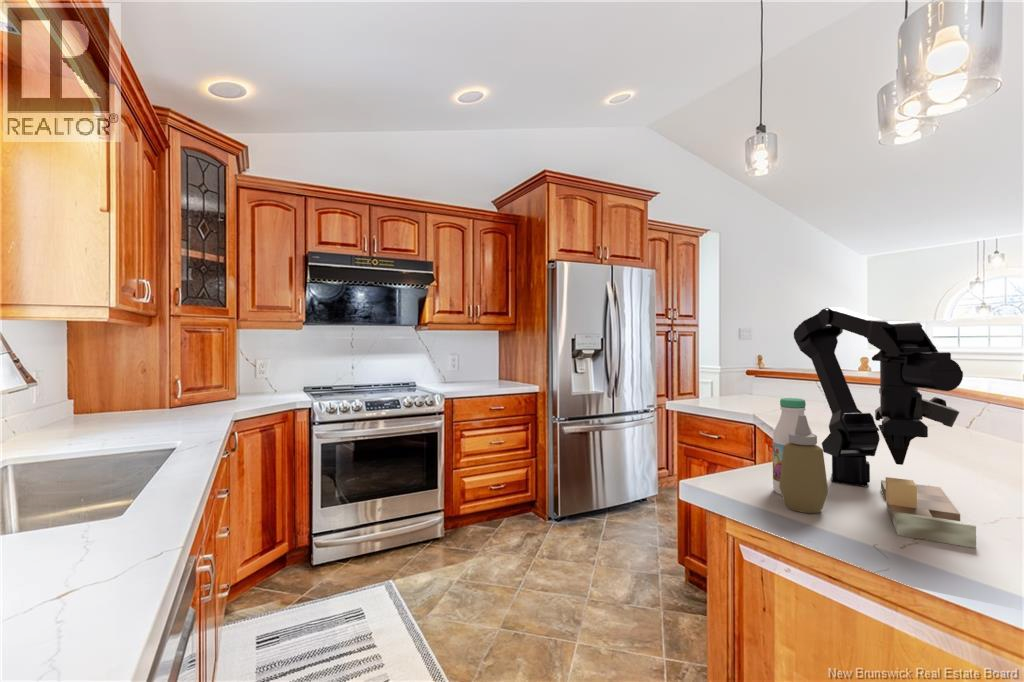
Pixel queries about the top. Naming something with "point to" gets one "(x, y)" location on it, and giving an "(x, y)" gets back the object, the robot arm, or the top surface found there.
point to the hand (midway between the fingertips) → (899, 464)
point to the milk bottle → (785, 433)
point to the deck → (932, 518)
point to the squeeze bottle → (803, 471)
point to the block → (901, 492)
